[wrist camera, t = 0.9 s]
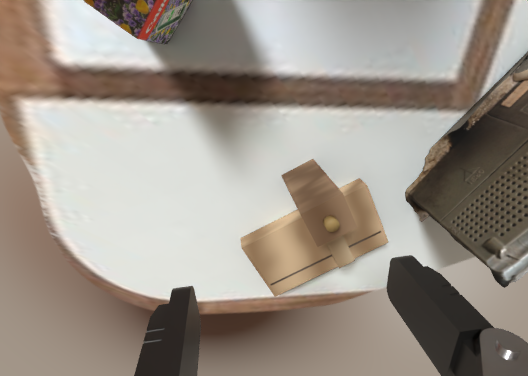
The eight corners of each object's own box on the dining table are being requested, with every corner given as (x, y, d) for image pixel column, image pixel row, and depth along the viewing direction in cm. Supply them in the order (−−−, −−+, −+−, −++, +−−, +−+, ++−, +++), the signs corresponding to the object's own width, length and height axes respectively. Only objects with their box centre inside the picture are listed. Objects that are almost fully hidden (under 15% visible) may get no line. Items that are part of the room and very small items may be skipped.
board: (359, 178, 35) (367, 185, 33) (380, 233, 39) (388, 242, 37) (240, 238, 36) (241, 248, 34) (272, 285, 40) (275, 296, 38)
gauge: (313, 158, 33) (346, 197, 24) (348, 235, 38) (385, 290, 29) (281, 175, 33) (302, 219, 24) (320, 249, 38) (349, 307, 30)
